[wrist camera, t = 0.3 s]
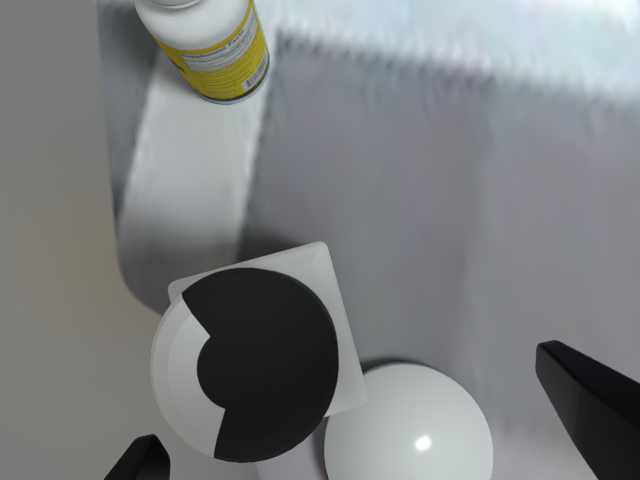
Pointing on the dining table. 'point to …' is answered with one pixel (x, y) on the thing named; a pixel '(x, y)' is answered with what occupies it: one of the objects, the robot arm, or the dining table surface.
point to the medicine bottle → (256, 355)
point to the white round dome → (409, 430)
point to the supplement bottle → (211, 44)
